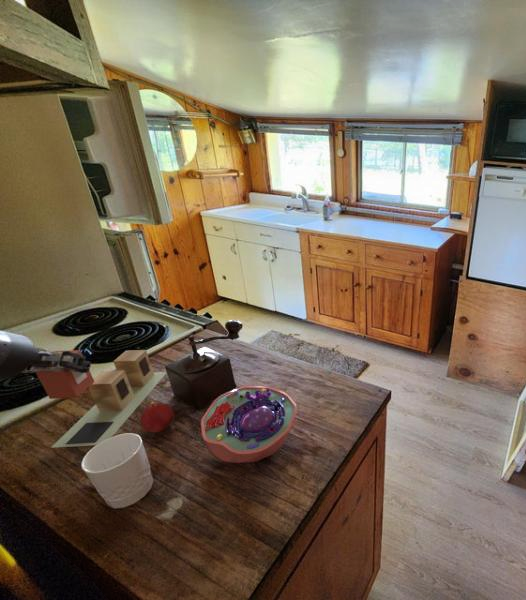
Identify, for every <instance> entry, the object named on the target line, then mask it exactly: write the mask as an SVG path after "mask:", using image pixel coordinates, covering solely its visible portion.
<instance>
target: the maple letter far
mask: <svg viewBox="0 0 526 600" xmlns="http://www.w3.org/2000/svg"><path fill="white" fill-rule="evenodd" d="M112 362H113V365H114V367H115V369H116V371H123V370H124V371H125V373H126V376H127V378H128V381H129V383H130V386H131V387H144V386H145V385H146V384H147V383H148V381H149V380H150V379H151V378H152V377H153V376H154V372H155V371H154V369H153V366H152V363H151V360H150V358H149V355H148V352H147V350H146V349H134V350H131V349H129V350H124V352H123V353H121V354H120V355H119V356H118V357H117V358H116V359H114V360H113V361H112Z"/></svg>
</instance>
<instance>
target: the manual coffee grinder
mask: <svg viewBox="0 0 526 600" xmlns="http://www.w3.org/2000/svg"><path fill="white" fill-rule="evenodd" d="M224 328H225V330H226V331H227V335H216V336H210V337H206V338H203V339H199V340H195V338H196V337H195V336H194V335H189V336H188V337H187V339H188V345H189V346H190V347H191V349H192V352H191V353H189V354H187V355H185V356H183V357H180V358H179V359H176V360H175V361H172V362H170V363H168V364H166V365H165V367H164V368H165V372H167V373H166V375H167V377H168V380H169V384H170V386H171V390H172V393H173V396H174V397H175V398H176V399H178V400H179V401H181V402H183V403H184V404H186V405H188V407H191V408H193V409H195V410H196V411H202V410H204V409H206V408H207V407H210V406H211V404H212V403H213V402H214V401H215V400H216V399H217V398H218V397H219V396H221V395H223V394H225V393H227V392H230V391H232V390H235V389H236V388H237V384H236V381H235V376H234V372H233V367H232V363H231V359H230V357H228V356H226V355H224V354H222V353H220V352H219V351H216V350H214V349H212V348H209V347H206V346H203V347H202V348H199V349H198V348H197V345H201V344H204V343H208V342H212V341H216V340H231V341H234V340H237V339H239V338H240V334H239V333H240V331H241V330H242V329H243V323H242V322H241V321H240V320H237V319H230V320H228V321H226V322H225V324H224Z"/></svg>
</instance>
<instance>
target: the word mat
mask: <svg viewBox="0 0 526 600" xmlns="http://www.w3.org/2000/svg"><path fill="white" fill-rule="evenodd" d="M153 372H154V376H153V377H152V378H151V379H150V380H149V381H148V383H147V384H146V385H145V386H144V387H131V388H132V391H133V394H134V396H135V397H134V398H133V399H132V400H131V401H130V403H129V404H128V405H127V406H126V407H125V408H124V409H123V410H122V411H109V412H99V410H98V408H97V406H96V403H95V404H94V405H93V406H92V407H91V408H90V409H89V410H88V411H87V412H86V413H84V415H83V416H82V417H81V418H80V419H78V421H77V422H75V423H74V425H73V426H71V427H70V428H69V429H68V431H66V432H65V433H64V434H63V435H62V436H61V437H60V438H59V439H58V440H57V441H56V442H55V443H54V444H53V445H52V446H51V447H50V448H51V449H54V448H71V447H72V448H73V447H88V446H89V447H91V446H93V447H94V446H96V445H97V444H99V443H101V442H102V441H104V440H106V439H108V438H111V437H113V436H115V434H116V433H117V432H118V431H119V429H120V428H121V427H122V426H123V425H124V424H125V422H126V421H127V420H128V419H129V418H130V416H131V415H132V414H133V413H134V412H135V410H136V409H137V408H138V407H139V406H140V405H141V403H142V402H143V401H145V399H146V398H147V397H148V396H149V394H150V393H151V392H152V391H153V390H154V389H155V387H156V386H157V385H158V384H159V383H160V382H161V380H162V379H163V378H164V377H165V375H167V371H156V372H155V371H153Z"/></svg>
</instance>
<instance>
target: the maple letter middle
mask: <svg viewBox="0 0 526 600" xmlns="http://www.w3.org/2000/svg"><path fill="white" fill-rule="evenodd" d="M93 379H94V383H93V384H92V385H91V386H89V387H88V388H87V389H88V390H89V391H88V392H89V393H90V394H91V397H92V399H93V401H94V403H95V404H96V406H97V408H98V410H99V412H109V411H122V410H123V409H124V408H125V407H126V406H127V405H128V404H129V403H130V401H131V400H132V399H133V398H134V397H135V396H134V394H133V391H132V388H131V386H130V383H129V381H128V378H127V376H126V373H125V371H124V370H123V371H117V370H101V372H99V373H98V374H97V375H96V376H94V377H93Z"/></svg>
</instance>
